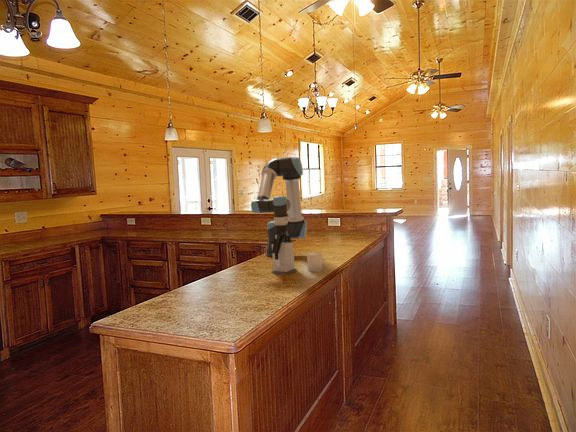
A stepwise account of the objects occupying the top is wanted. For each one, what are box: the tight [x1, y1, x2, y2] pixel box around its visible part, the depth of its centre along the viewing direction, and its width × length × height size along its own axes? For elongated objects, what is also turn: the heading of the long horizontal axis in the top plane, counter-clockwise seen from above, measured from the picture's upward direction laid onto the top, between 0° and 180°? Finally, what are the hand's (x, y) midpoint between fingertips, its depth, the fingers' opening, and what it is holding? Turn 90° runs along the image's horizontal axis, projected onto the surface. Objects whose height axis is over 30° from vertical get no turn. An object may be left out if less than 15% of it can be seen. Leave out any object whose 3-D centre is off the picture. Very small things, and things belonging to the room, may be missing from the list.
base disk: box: [271, 268, 298, 275], centre depth 236 cm, size 14×14×1 cm
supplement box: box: [272, 242, 296, 272], centre depth 235 cm, size 9×9×15 cm
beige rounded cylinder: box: [306, 252, 324, 273], centre depth 233 cm, size 8×8×9 cm
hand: (283, 262), depth 235 cm, fingers open, 13 cm apart
